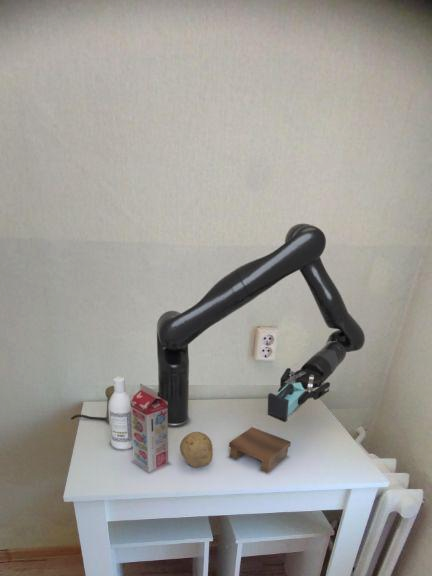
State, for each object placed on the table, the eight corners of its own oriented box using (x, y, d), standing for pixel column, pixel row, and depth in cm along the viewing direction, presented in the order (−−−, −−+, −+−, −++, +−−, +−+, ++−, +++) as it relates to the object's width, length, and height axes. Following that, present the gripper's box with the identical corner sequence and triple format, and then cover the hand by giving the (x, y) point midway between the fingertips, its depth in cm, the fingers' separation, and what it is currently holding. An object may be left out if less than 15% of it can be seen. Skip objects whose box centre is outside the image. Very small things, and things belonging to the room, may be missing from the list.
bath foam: (137, 448, 133) (134, 382, 121) (113, 451, 130) (108, 385, 119) (132, 436, 138) (129, 372, 126) (109, 439, 136) (103, 375, 124)
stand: (250, 441, 139) (252, 426, 136) (288, 456, 133) (290, 441, 130) (227, 457, 131) (229, 442, 128) (267, 474, 125) (269, 458, 122)
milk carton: (152, 453, 130) (150, 380, 118) (168, 463, 127) (167, 388, 114) (133, 462, 127) (129, 386, 114) (148, 472, 123) (146, 395, 110)
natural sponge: (181, 455, 131) (181, 423, 125) (212, 457, 131) (214, 425, 125) (178, 472, 123) (178, 440, 118) (211, 475, 123) (213, 442, 118)
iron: (290, 391, 131) (292, 370, 125) (308, 398, 128) (310, 377, 123) (267, 414, 125) (268, 393, 119) (285, 422, 122) (286, 400, 117)
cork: (121, 425, 143) (119, 392, 137) (103, 423, 144) (100, 390, 138) (128, 417, 148) (126, 384, 142) (110, 414, 149) (108, 382, 142)
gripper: (299, 348, 133) (267, 378, 125) (344, 363, 127) (314, 396, 118) (297, 370, 139) (266, 400, 130) (341, 385, 132) (311, 418, 124)
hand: (289, 398), depth 124 cm, fingers closed on iron, 5 cm apart
